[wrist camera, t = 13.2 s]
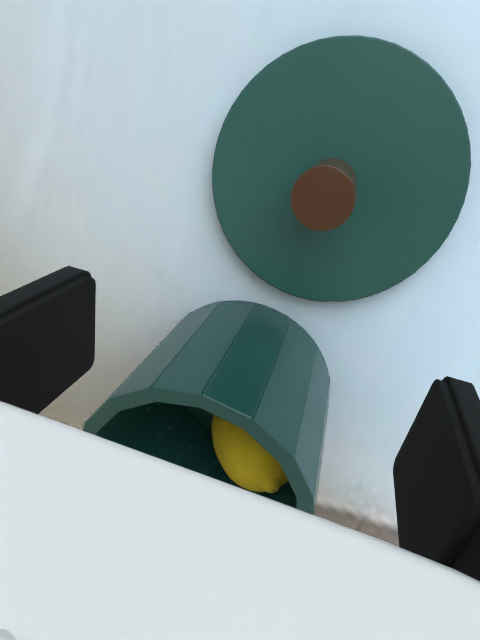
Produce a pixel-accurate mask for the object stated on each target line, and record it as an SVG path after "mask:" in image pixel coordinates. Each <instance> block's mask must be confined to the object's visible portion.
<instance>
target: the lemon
mask: <svg viewBox="0 0 480 640" xmlns="http://www.w3.org/2000/svg"><path fill="white" fill-rule="evenodd" d="M212 439H213V445H214V449H215V452H216V455H217V457H218V460H219V462H220V463H221V465H222V467H223V469H224V470H225V472H226V473H227V475H228V476H229V477H230V479H231V480H232V481H234V482H235V483H236V484H238V485H239V486H241V487H242V488H245V489H247V490H250V491H255V492H268V493H274V492H276V491H278V490H279V487H281V486H282V485H284V484H285V483H286V482H287V481H288V479H287V477H286V475H285V473H284V471H283V469H282V467H281V465H280V463H279V462H278V461H277V460H276V459H275V458H274V457H273V456H272V455H270V454H269V453H268V452H267V451H266V450H265V449H264V448H263V447H262V446H261V445H260V444H259V443H258V442H257V441H256V440H254V439H253V438H252V437H251V436H250V435H249V434H248V433H247V432H246V431H245V430H244V429H242V428H240V427H238V426H236V425H234V424H232V423H230V422H228V421H226V420H224V419H222V418H220V417H218V416H215V415H213V419H212Z"/></svg>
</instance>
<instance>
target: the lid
mask: <svg viewBox="0 0 480 640" xmlns="http://www.w3.org/2000/svg"><path fill="white" fill-rule="evenodd" d="M470 168H471V152H470V141H469V135H468V129H467V125H466V122H465V119H464V116H463V113H462V110H461V108H460V106H459V104H458V102H457V100H456V98H455V96H454V94H453V92H452V91H451V89H450V88H449V86H448V85H447V84H446V82H445V81H444V80H443V78H442V77H441V76H440V75H439V74H438V73H437V72H436V71H435V70H434V69H433V68H432V67H431V66H430V65H429V64H428V63H427V62H426V61H424V60H423V59H421V58H420V57H419V56H417V55H416V54H414V53H413V52H411V51H409V50H407V49H405V48H403V47H401V46H399V45H397V44H395V43H391V42H388V41H385V40H381V39H378V38H373V37H365V36H335V37H330V38H324V39H319V40H316V41H313V42H310V43H307V44H304V45H301V46H299V47H297V48H295V49H293V50H291V51H289V52H287V53H285V54H283V55H281V56H280V57H278V58H277V59H276V60H274V61H273V62H271V63H270V64H268V65H267V66H266V67H265V68H264V69H263V70H261V71H260V72H259V73H258V74H257V75H256V76H255V77H254V78H253V79H252V80H251V81H250V82H249V83H248V85H247V86H246V87H245V88H244V89H243V90H242V92H241V93H240V95H239V96H238V98H237V99H236V101H235V102H234V104H233V105H232V107H231V109H230V111H229V113H228V115H227V117H226V119H225V121H224V123H223V126H222V128H221V131H220V134H219V137H218V140H217V144H216V149H215V153H214V160H213V169H212V188H213V196H214V203H215V207H216V211H217V215H218V219H219V221H220V224H221V226H222V229H223V232H224V234H225V235H226V237H227V239H228V241H229V243H230V245H231V246H232V248H233V249H234V251H235V252H236V254H237V255H238V256H239V258H240V259H241V260H242V261H243V262H244V263H245V264H246V265H247V267H248V268H250V269H251V270H252V271H253V272H254V273H255V274H256V275H257V276H259V277H260V278H261V279H263V280H264V281H266V282H267V283H269V284H270V285H272V286H274V287H276V288H278V289H280V290H282V291H284V292H286V293H289V294H292V295H294V296H297V297H301V298H306V299H310V300H317V301H347V300H355V299H359V298H364V297H368V296H371V295H374V294H377V293H379V292H382V291H385V290H387V289H389V288H391V287H393V286H395V285H396V284H398V283H400V282H402V281H403V280H405V279H406V278H408V277H409V276H411V275H412V274H414V273H415V272H416V271H417V270H418V269H419V268H421V267H422V266H423V265H424V264H425V263H426V262H427V261H428V260H429V259H430V258H431V257H432V256H433V255H434V254H435V253H436V252H437V250H438V249H439V248H440V246H441V245H442V244H443V242H444V241H445V240H446V238H447V237H448V235H449V234H450V232H451V230H452V228H453V226H454V224H455V223H456V221H457V219H458V216H459V214H460V211H461V209H462V206H463V204H464V201H465V197H466V193H467V189H468V185H469V177H470Z"/></svg>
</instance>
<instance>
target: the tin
mask: <svg viewBox="0 0 480 640" xmlns="http://www.w3.org/2000/svg"><path fill="white" fill-rule="evenodd" d="M329 384H330V378H329V375H328V369H327V366H326V363H325V360H324V358H323V356H322V354H321V352H320V350H319V348H318V346H317V345H316V343H315V342H314V340H313V339H312V338H311V337H310V336H309V335H308V333H307V332H306V331H305V330H304V329H303V328H302V327H301V326H299V325H298V324H297V323H296V322H295V321H293V320H292V319H290V318H289V317H287V316H286V315H284V314H282V313H280V312H278V311H277V310H275V309H272V308H269V307H267V306H264V305H261V304H257V303H253V302H246V301H223V302H216V303H213V304H209V305H206V306H204V307H201V308H199V309H197V310H195V311H194V312H191V313H189V314H188V315H187V316H186V317H185V318H184V319H183V320H182V321H181V322H180V323H179V324H178V325H177V326H176V327H175V328H174V329H173V330H172V331H171V332H170V333H169V334H168V335H167V336H166V338H165V339H164V340H163V341H162V342H161V343H160V344H159V345H158V346H157V347H156V348H155V349H154V350H153V351H152V352H151V353H150V354H149V355H148V356H147V358H146V359H145V360H144V361H143V362H142V363H141V364H140V365H139V366H138V367H137V368H136V369H135V370H134V371H133V372H132V373H131V374H130V375H129V376H128V378H127V379H126V380H125V381H124V382H123V383H122V384H121V385H120V386H119V387H118V388H117V389H116V390H115V391H114V392H113V393H112V394H111V395H110V396H109V398H108V399H107V400H106V401H105V402H104V403H103V404H102V405H101V406H100V407H99V408H98V409H97V410H96V411H95V412H94V413H93V414H92V415H91V416H90V418H89V419H88V420H87V421H86V422H85V424H84V428H83V431H85V432H88V433H90V434H93V435H96V436H99V437H101V438H104V439H107V440H110V441H112V442H115V443H118V444H121V445H123V446H126V447H129V448H132V449H134V450H137V451H140V452H142V453H145V454H148V455H151V456H153V457H156V458H159V459H162V460H164V461H167V462H170V463H173V464H175V465H178V466H181V467H184V468H187V469H189V470H192V471H195V472H198V473H200V474H203V475H206V476H209V477H211V478H214V479H217V480H220V481H222V482H225V483H228V484H231V485H233V486H236V487H239V488H242V487H241V486H239V485H238V484H236V483H235V482H234V481H232V480H231V479H230V477H229V476H228V475H227V473H226V472H225V470H224V469H223V467H222V465H221V463H220V462H219V460H218V457H217V455H216V452H215V449H214V445H213V439H212V419H213V415H215V416H218V417H220V418H222V419H224V420H226V421H228V422H230V423H232V424H234V425H236V426H238V427H240V428H242V429H244V430H245V431H246V432H247V433H248V434H249V435H250V436H251V437H252V438H253V439H254V440H256V441H257V442H258V443H259V444H260V445H261V446H262V447H263V448H264V449H265V450H266V451H267V452H268V453H269V454H270V455H272V456H273V457H274V458H275V459H276V460H277V461H278V462H279V463H280V465H281V467H282V469H283V471H284V473H285V475H286V477H287V479H288V481H287V482H286V483H285V484H284V485H282V486H281V487H279V490H278V491H276V492H274V493H268V492H255V491H250V490H247V489H245V488H242V489H244V490H247V491H250V492H253V493H255V494H258V495H261V496H263V497H266V498H269V499H272V500H274V501H277V502H280V503H282V504H285V505H288V506H290V507H293V508H296V509H299V510H301V511H304V512H307V513H309V514H312V515H315V509H316V501H317V493H318V485H319V477H320V469H321V461H322V453H323V445H324V437H325V428H326V420H327V412H328V401H329Z"/></svg>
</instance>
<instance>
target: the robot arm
mask: <svg viewBox="0 0 480 640" xmlns="http://www.w3.org/2000/svg"><path fill="white" fill-rule="evenodd" d="M95 294H96V284H95V280H94V279H93V278H91V274H90V273H89V272H88V271H85V270H81V269H78V268H74V267H71V266H67V267H64V268H62V269H60V270H58V271H55V272H53V273H51V274H49V275H47V276H44V277H42V278H40V279H38V280H36V281H33V282H31V283H29V284H27V285H24V286H22V287H20V288H18V289H16V290H13V291H11V292H9V293H7V294H5V295H2V296H0V640H480V399H479V397H478V395H477V393H476V390H475V388H474V386H473V384H472V383H468V382H465V381H462V380H458V379H455V378H451V377H448V376H447V377H445V378H444V379H443V380H442V381H441V380H438V379H436V380H435V381H434V382H433V384H432V386H431V388H430V390H429V392H428V394H427V396H426V398H425V400H424V402H423V404H422V406H421V408H420V410H419V412H418V414H417V416H416V418H415V420H414V422H413V424H412V426H411V428H410V430H409V432H408V434H407V436H406V438H405V440H404V442H403V444H402V446H401V448H400V450H399V452H398V454H397V456H396V459H395V462H394V467H393V476H394V488H395V500H396V512H397V523H398V535H399V547H398V546H395V545H393V544H390V543H388V542H385V541H382V540H380V539H377V538H374V537H372V536H369V535H366V534H363V533H361V532H358V531H355V530H353V529H350V528H347V527H345V526H342V525H339V524H336V523H334V522H331V521H328V520H326V519H323V518H320V517H318V516H315V515H312V514H309V513H307V512H304V511H301V510H299V509H296V508H293V507H290V506H288V505H285V504H282V503H280V502H277V501H274V500H272V499H269V498H266V497H263V496H261V495H258V494H255V493H253V492H250V491H247V490H244V489H242V488H239V487H236V486H233V485H231V484H228V483H225V482H222V481H220V480H217V479H214V478H211V477H209V476H206V475H203V474H200V473H198V472H195V471H192V470H189V469H187V468H184V467H181V466H178V465H175V464H173V463H170V462H167V461H164V460H162V459H159V458H156V457H153V456H151V455H148V454H145V453H142V452H140V451H137V450H134V449H132V448H129V447H126V446H123V445H121V444H118V443H115V442H112V441H110V440H107V439H104V438H101V437H99V436H96V435H93V434H90V433H88V432H85V431H82V430H79V429H77V428H74V427H71V426H68V425H66V424H63V423H60V422H57V421H55V420H52V419H49V418H46V417H44V416H41V415H38V414H39V413H40V412H41V411H42V410H43V409H44V408H46V407H47V406H48V405H49V404H50V403H51V402H52V401H54V400H55V399H56V398H57V397H58V396H59V395H61V394H62V393H63V392H64V391H65V390H66V389H68V388H69V387H70V386H71V385H72V384H73V383H74V382H76V381H77V380H78V379H79V378H80V377H81V376H83V375H84V374H85V373H86V372H87V371H88V370H89V369H90V368H91V367H92V365H93V362H94V357H95Z"/></svg>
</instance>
